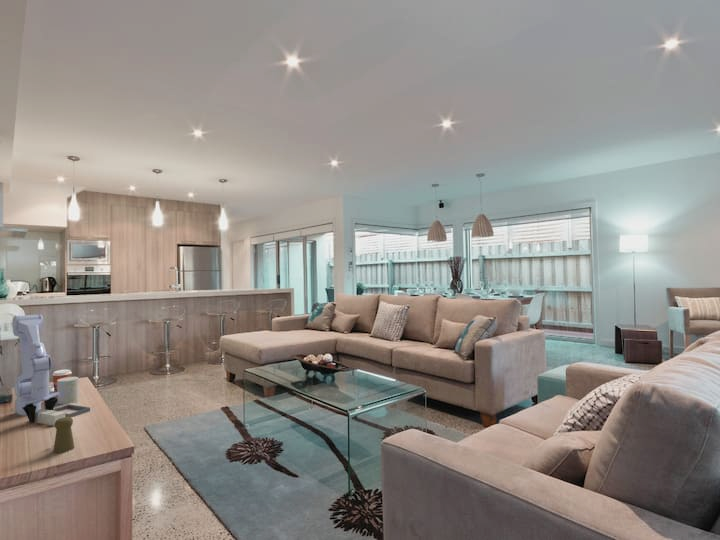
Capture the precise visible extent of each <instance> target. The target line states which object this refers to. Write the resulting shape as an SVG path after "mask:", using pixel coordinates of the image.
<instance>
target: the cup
mask: <svg viewBox="0 0 720 540" xmlns="http://www.w3.org/2000/svg"><path fill="white" fill-rule="evenodd" d="M79 379H80V378H79V377H78V376H71V377H66V378H61V379H58V380H57V392H60V397H57V399H58V401H57V403H56V404H58V405H68V404H77V403H78V402H80V401H79V400H80V399H79V397H80V396H79V383H80V381H79ZM78 404H79V403H78Z"/></svg>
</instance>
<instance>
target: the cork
mask: <svg viewBox="0 0 720 540" xmlns="http://www.w3.org/2000/svg"><path fill="white" fill-rule="evenodd" d="M73 420H74V419H73V417H64V418H60V419H58V420H56V422H55V426H54V428H55V429H56V432H55V437H54V439H55V440H54V443H53V444H54V445H53V450H52V451H53V454H62V453H63V454H64V453H66V451H67V452H69V450H70V451H72V450H74V448H75V443H74V436H73V431H72V425H73V424H74V421H73Z"/></svg>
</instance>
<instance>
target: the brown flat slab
mask: <svg viewBox="0 0 720 540" xmlns="http://www.w3.org/2000/svg"><path fill="white" fill-rule="evenodd" d="M24 423H25V424H31V425H36V426H41V427H47V428H55V426H53V425H48V424H42V423H40V422H39V423H37V422H33V423H31V422H29V420H27V421H24Z"/></svg>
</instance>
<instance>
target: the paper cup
mask: <svg viewBox="0 0 720 540" xmlns="http://www.w3.org/2000/svg"><path fill="white" fill-rule="evenodd" d="M72 373H73V372H72V370H71V369H59V370H55V371H53V373H52V374H51V375H52V379H53V380H52V381H53V393H55V392H57V380H58V379H61V378H66V377H72ZM56 399H57V397H56Z"/></svg>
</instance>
